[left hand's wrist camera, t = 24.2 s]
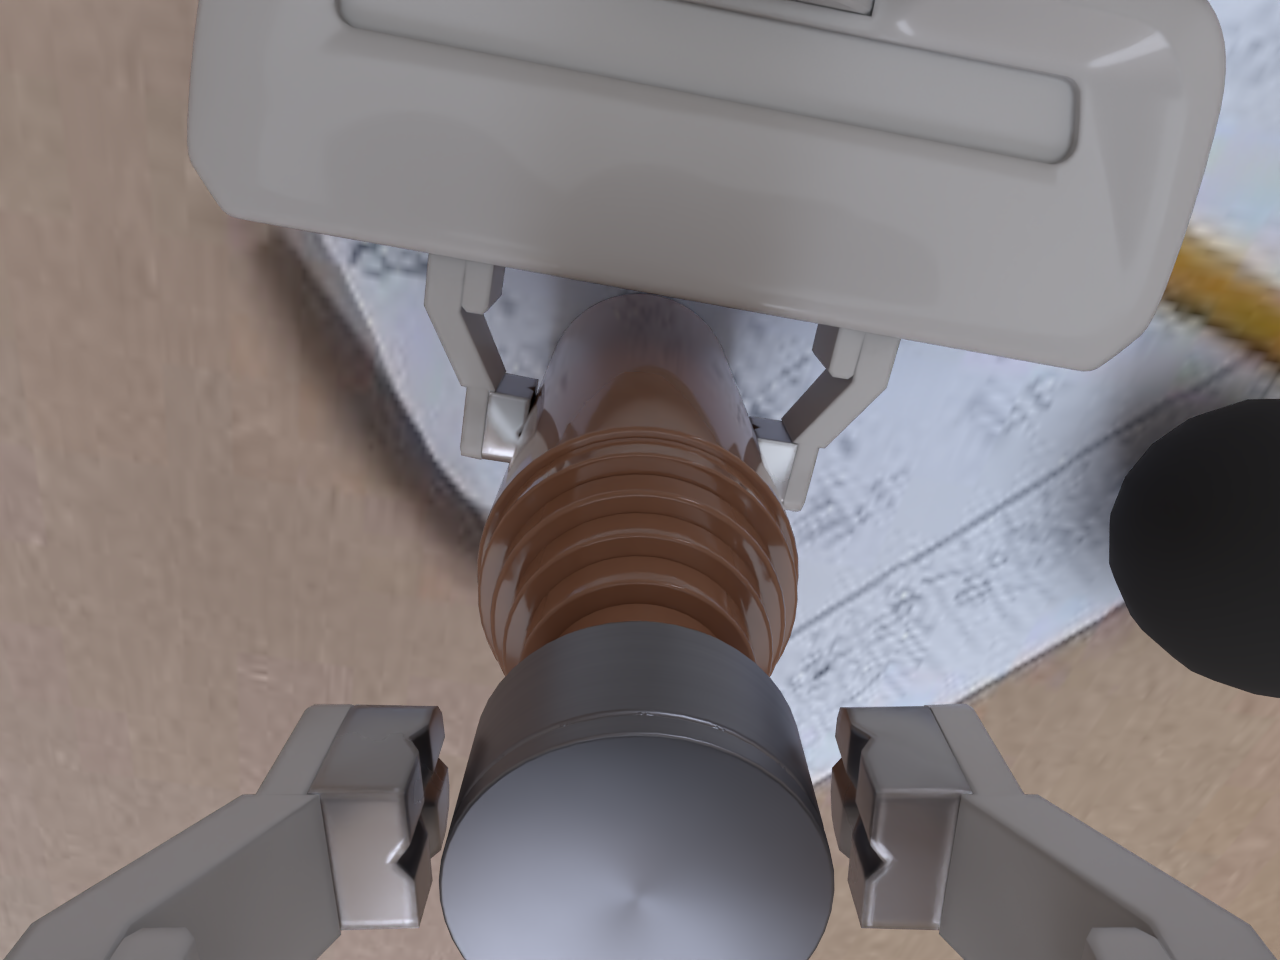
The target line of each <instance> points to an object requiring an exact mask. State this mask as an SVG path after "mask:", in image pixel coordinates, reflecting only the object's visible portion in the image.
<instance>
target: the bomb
mask: <svg viewBox="0 0 1280 960" xmlns="http://www.w3.org/2000/svg"><path fill="white" fill-rule="evenodd" d="M1109 564H1110V567H1111V570H1112V573H1113V576H1114V578H1115V581H1116V583H1117V585H1118V588H1119V590H1120V592H1121V594H1122V597H1123V599H1124V601H1125V604H1126V606H1127V608H1128V610H1129V613H1130V615H1131V616H1132V617H1133V619H1134V620H1135V621H1136V623H1137V624H1138V625H1139V627H1140V628H1141V629H1142V630H1143V631H1144V632H1145V633H1146V634H1147V635H1148V636H1150V637H1151V638H1152V639H1153V640H1154V641H1155V642H1156V643H1158V644H1159V645H1160V646H1161V647H1162V648H1163V649H1164V650H1166V651H1167V652H1168V653H1169V654H1170V655H1171V656H1172V657H1174V658H1175V659H1176V660H1178V661H1179V662H1180V663H1181V664H1183V665H1184V666H1185V667H1187V668H1188V669H1189V670H1191V671H1193V672H1195V673H1197V674H1200V675H1202V676H1204V677H1207V678H1209V679H1212V680H1214V681H1217V682H1220V683H1223V684H1226V685H1229V686H1232V687H1235V688H1238V689H1241V690H1244V691H1247V692H1250V693H1253V694H1257V695H1263V696H1270V697H1276V698H1280V399H1250V400H1245V401H1242V402H1239V403H1236V404H1233V405H1230V406H1226V407H1223V408H1220V409H1217V410H1214V411H1211V412H1208V413H1205V414H1202V415H1199V416H1196V417H1193V418H1191V419H1188V420H1187V421H1186V422H1184V423H1183V424H1181V425H1180V426H1178V427H1177V428H1175V429H1174V430H1172V431H1171V432H1169V433H1168V434H1167V435H1165V436H1164V437H1162V438H1161V439H1159V440H1158V441H1156V442H1155V443H1153V444H1152V445H1151V446H1150V448H1149V449H1148V450H1147V451H1146V452H1145V454H1144V455H1143V456H1142V457H1141V459H1140V460H1139V461H1138V462H1137V463H1136V465H1135V466H1134V467H1133V468H1132V470H1131V471H1130V472H1129V473H1128V474H1127V476H1126V477H1125V479H1124V481H1123V484H1122V486H1121V489H1120V491H1119V494H1118V497H1117V499H1116V502H1115V504H1114V507H1113V509H1112V512H1111V516H1110V541H1109Z"/></svg>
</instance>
